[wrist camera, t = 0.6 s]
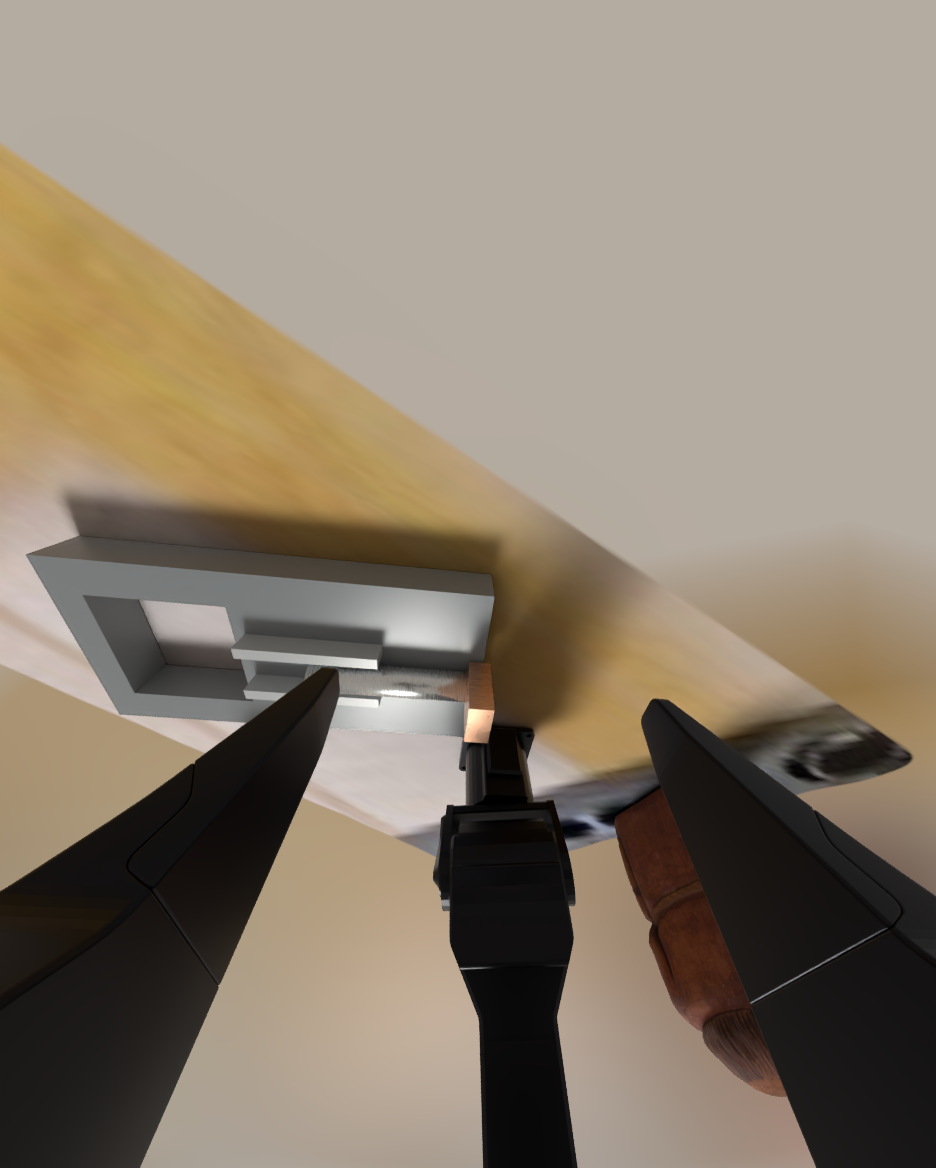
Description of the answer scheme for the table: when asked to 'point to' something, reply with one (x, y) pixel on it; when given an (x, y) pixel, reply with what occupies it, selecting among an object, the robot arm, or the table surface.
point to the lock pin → (428, 689)
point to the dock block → (267, 627)
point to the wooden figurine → (691, 942)
